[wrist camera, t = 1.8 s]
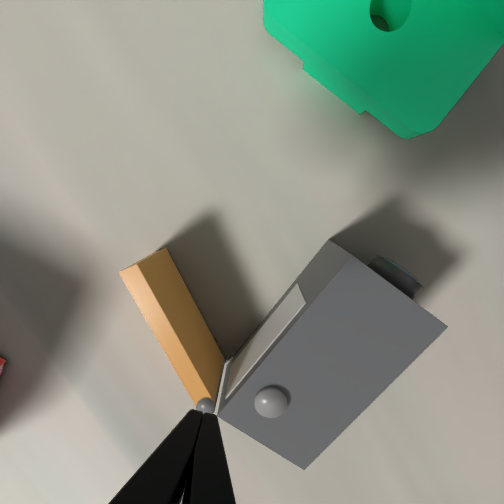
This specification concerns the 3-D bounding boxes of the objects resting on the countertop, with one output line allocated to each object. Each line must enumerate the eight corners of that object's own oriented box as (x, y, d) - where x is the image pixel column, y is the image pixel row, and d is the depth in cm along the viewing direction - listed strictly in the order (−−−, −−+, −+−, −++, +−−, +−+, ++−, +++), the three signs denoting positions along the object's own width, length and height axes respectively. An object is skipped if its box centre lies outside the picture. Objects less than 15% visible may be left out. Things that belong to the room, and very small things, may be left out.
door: (166, 247, 19) (135, 264, 14) (227, 363, 21) (218, 412, 16) (144, 257, 19) (106, 277, 15) (206, 370, 21) (191, 421, 17)
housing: (411, 281, 19) (467, 314, 14) (294, 408, 22) (304, 474, 17) (338, 225, 18) (368, 238, 13) (226, 364, 21) (215, 419, 16)
